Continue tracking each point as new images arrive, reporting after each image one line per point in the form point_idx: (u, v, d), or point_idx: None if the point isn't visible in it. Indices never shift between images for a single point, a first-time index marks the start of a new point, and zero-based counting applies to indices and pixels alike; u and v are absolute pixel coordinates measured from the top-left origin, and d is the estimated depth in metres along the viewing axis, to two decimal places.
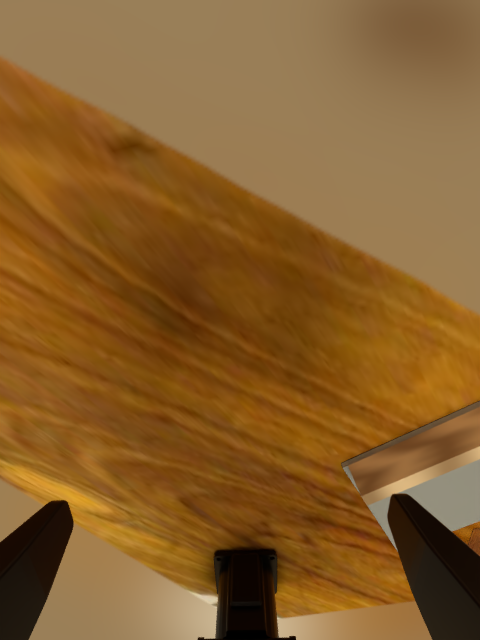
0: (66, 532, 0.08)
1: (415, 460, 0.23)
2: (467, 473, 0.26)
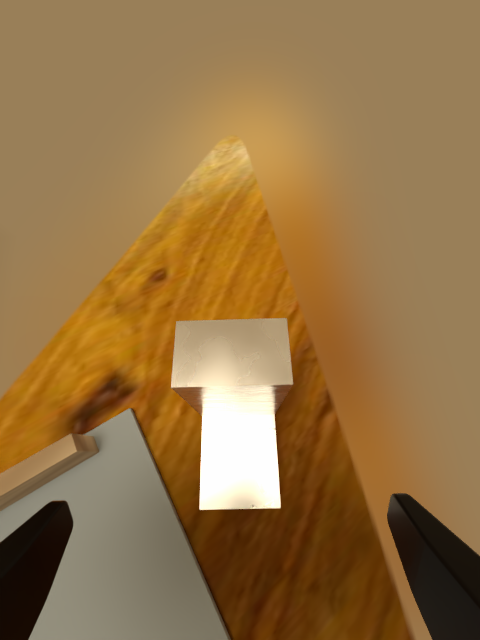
0: (66, 532, 0.08)
1: None
2: (72, 562, 0.18)
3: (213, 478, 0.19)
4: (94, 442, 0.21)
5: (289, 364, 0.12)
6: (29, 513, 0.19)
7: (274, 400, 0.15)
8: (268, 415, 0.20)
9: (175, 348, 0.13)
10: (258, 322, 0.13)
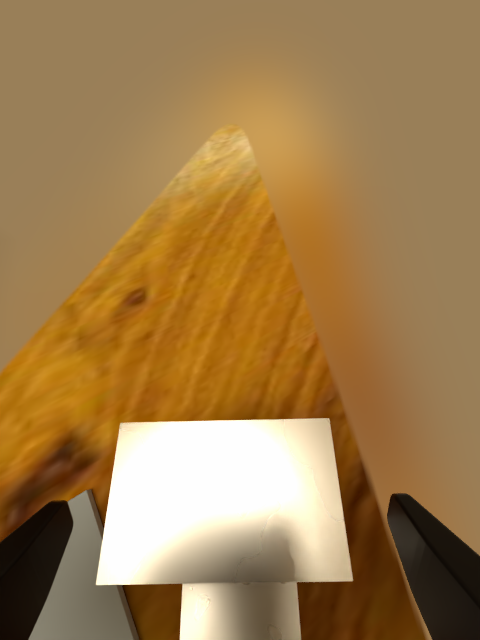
0: (66, 532, 0.08)
1: None
2: None
3: (200, 618, 0.12)
4: None
5: (340, 529, 0.06)
6: None
7: None
8: None
9: (113, 485, 0.06)
10: (275, 426, 0.07)
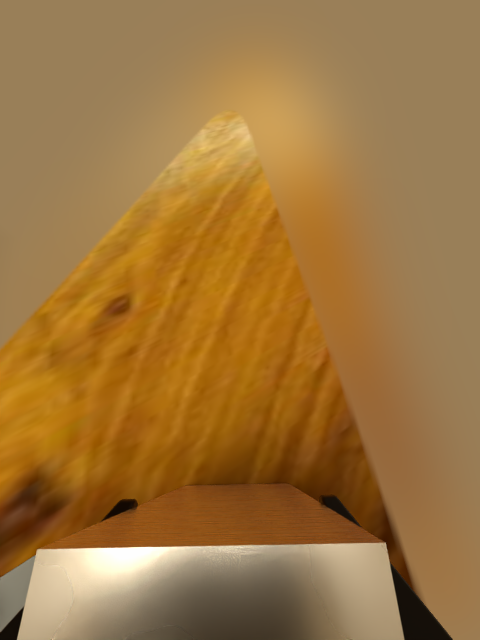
0: None
1: None
2: None
3: None
4: None
5: None
6: None
7: None
8: None
9: None
10: (296, 558, 0.04)
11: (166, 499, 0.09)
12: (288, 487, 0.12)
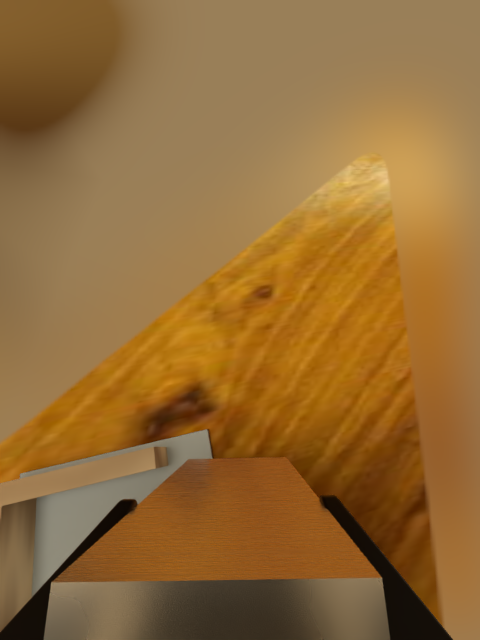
0: None
1: None
2: None
3: None
4: (166, 454, 0.20)
5: None
6: (91, 503, 0.19)
7: None
8: None
9: None
10: (297, 591, 0.04)
11: (171, 486, 0.10)
12: (286, 465, 0.13)
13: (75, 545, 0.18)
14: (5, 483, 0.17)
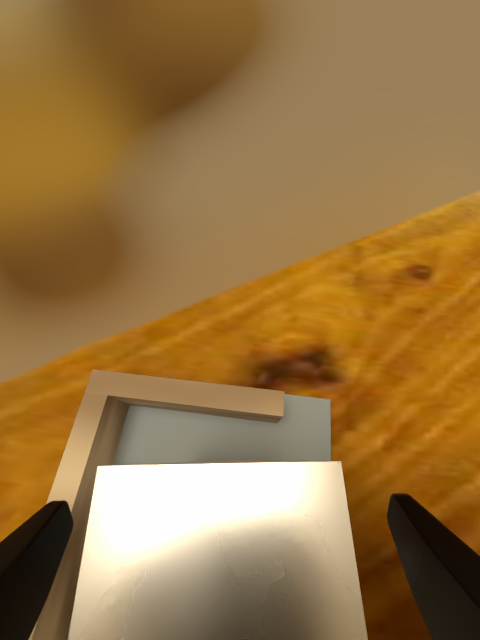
0: (66, 532, 0.08)
1: None
2: None
3: None
4: None
5: (356, 602, 0.05)
6: (184, 432, 0.17)
7: None
8: None
9: (87, 544, 0.05)
10: (278, 471, 0.06)
11: (178, 462, 0.11)
12: None
13: None
14: (115, 373, 0.15)
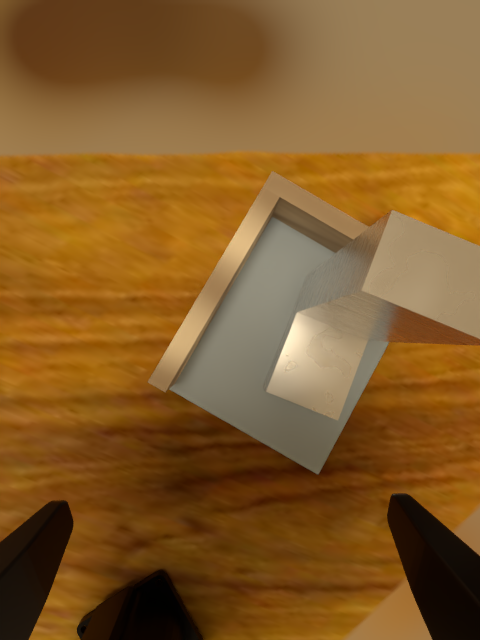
0: (66, 532, 0.08)
1: None
2: None
3: (287, 372, 0.19)
4: None
5: None
6: (307, 254, 0.21)
7: (416, 339, 0.13)
8: (361, 339, 0.19)
9: (380, 245, 0.10)
10: None
11: None
12: None
13: (281, 271, 0.21)
14: (289, 182, 0.18)
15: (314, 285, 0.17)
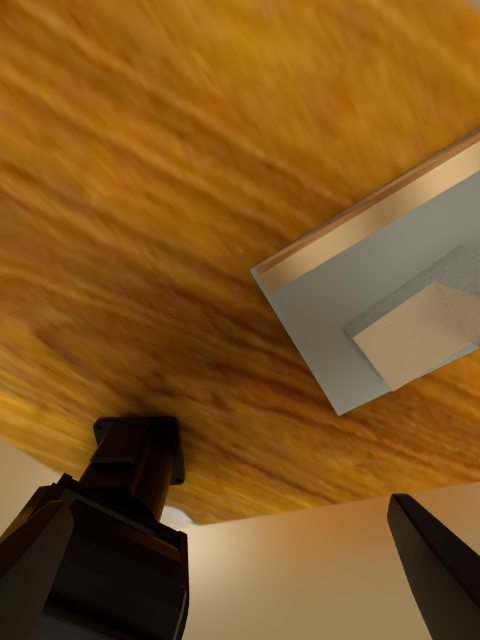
0: (66, 532, 0.08)
1: (340, 221, 0.15)
2: None
3: (383, 331, 0.18)
4: None
5: None
6: (479, 222, 0.17)
7: None
8: (468, 338, 0.18)
9: None
10: None
11: None
12: None
13: (439, 226, 0.17)
14: None
15: None
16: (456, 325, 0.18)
